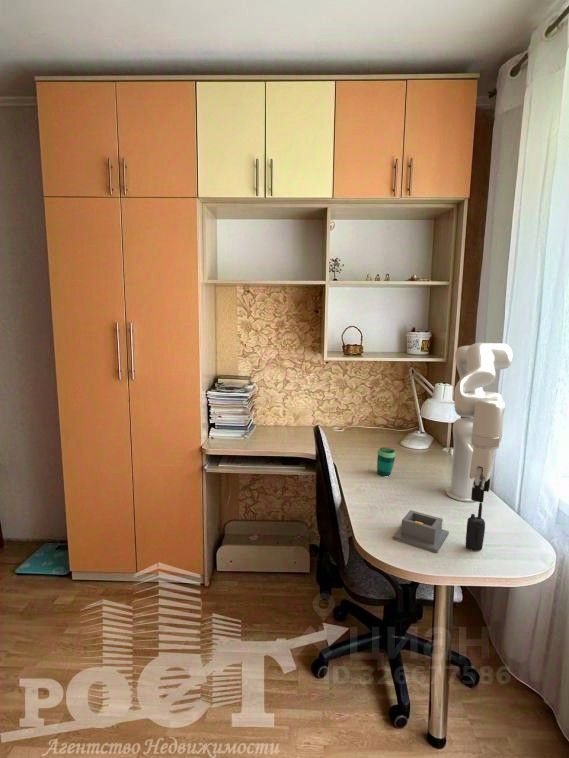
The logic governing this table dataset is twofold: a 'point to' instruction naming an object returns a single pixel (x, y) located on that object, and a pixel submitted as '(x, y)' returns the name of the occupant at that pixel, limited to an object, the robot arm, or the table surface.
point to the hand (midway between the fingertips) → (480, 495)
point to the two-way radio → (475, 531)
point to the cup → (385, 461)
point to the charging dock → (422, 531)
